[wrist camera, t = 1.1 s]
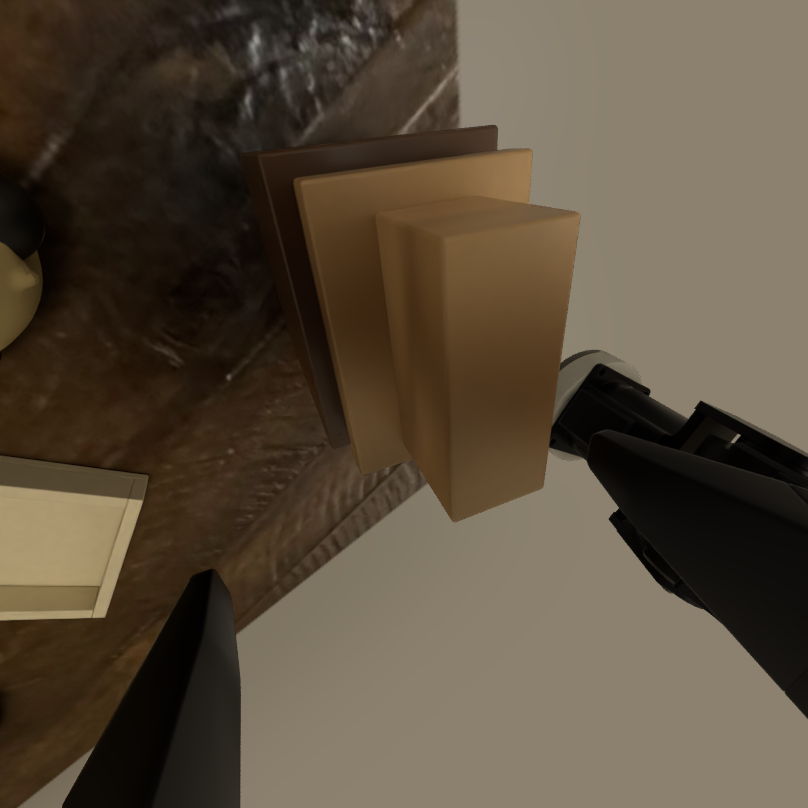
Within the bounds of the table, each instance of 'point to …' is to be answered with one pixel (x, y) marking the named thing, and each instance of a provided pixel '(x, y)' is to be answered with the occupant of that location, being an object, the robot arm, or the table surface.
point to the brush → (444, 317)
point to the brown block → (286, 243)
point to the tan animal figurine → (18, 259)
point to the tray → (63, 537)
